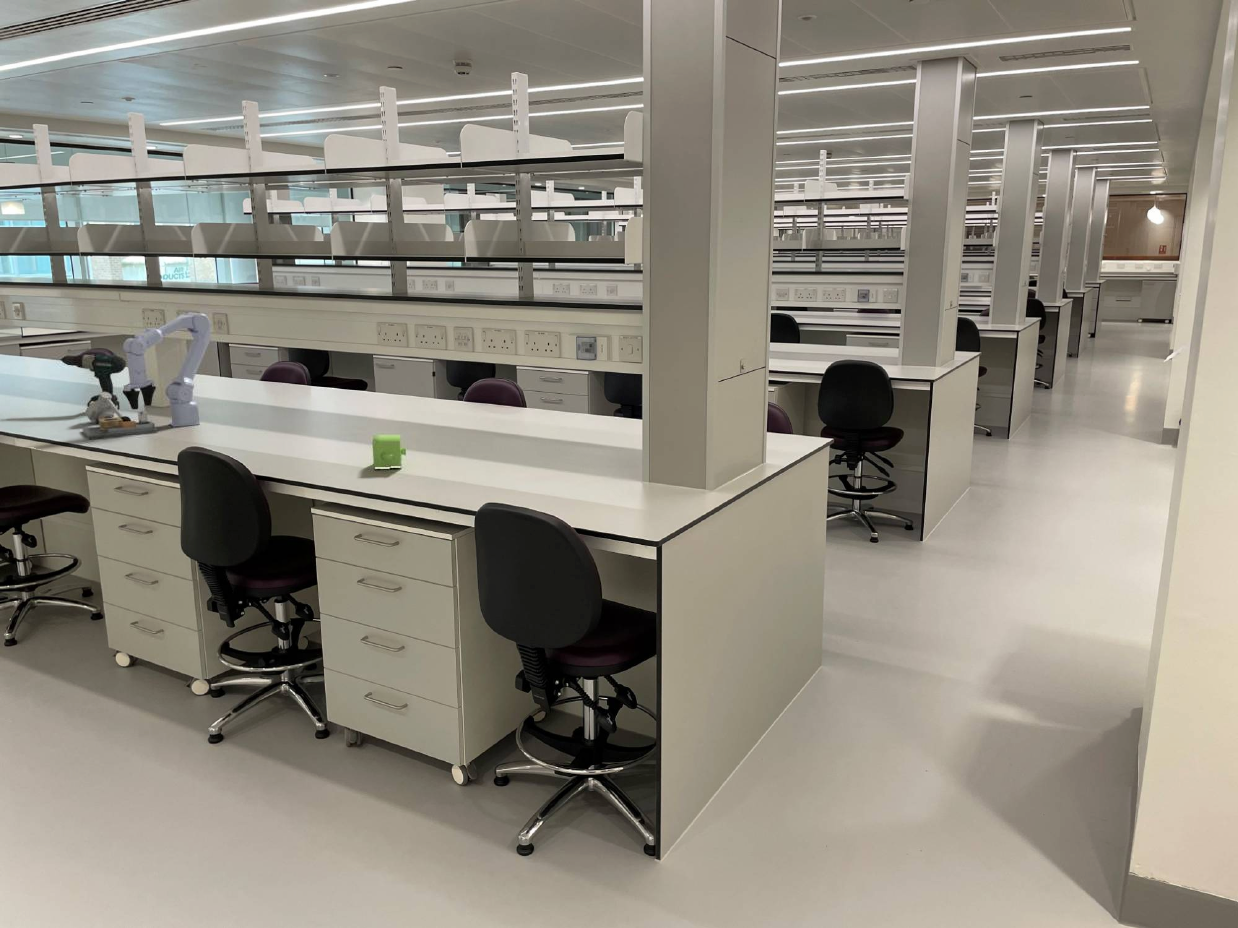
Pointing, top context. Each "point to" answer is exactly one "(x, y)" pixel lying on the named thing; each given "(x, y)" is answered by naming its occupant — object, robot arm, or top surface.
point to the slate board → (119, 431)
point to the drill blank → (142, 417)
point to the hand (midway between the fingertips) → (141, 407)
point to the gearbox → (387, 450)
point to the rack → (110, 422)
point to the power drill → (99, 370)
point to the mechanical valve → (103, 409)
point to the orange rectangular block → (128, 424)
